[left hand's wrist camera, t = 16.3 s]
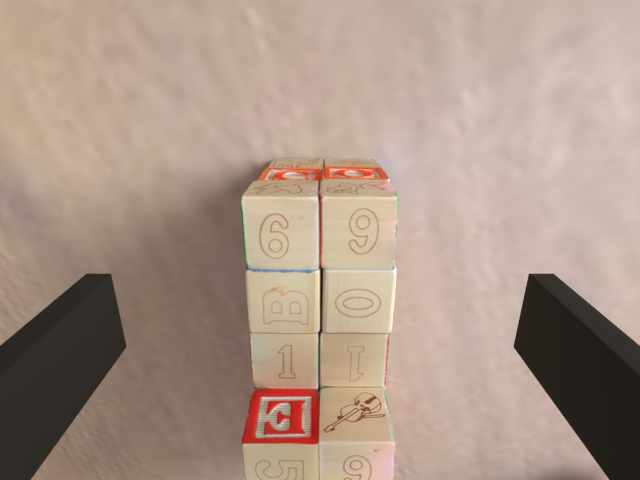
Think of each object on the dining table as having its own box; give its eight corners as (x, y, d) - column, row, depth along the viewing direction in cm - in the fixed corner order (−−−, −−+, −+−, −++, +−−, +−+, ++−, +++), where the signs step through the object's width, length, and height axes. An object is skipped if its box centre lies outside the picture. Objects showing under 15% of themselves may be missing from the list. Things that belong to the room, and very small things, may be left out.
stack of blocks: (270, 155, 24) (221, 215, 12) (375, 157, 24) (425, 217, 12) (279, 435, 31) (253, 636, 20) (359, 436, 31) (381, 638, 20)
